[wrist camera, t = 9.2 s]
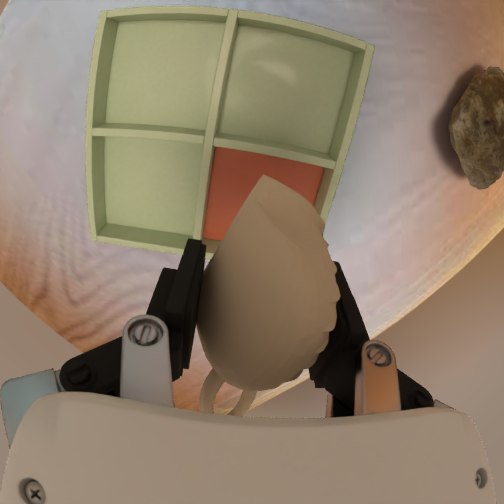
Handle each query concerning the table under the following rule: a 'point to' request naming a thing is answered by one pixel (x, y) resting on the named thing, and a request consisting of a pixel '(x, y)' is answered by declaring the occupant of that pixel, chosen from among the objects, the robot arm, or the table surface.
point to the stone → (480, 128)
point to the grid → (212, 119)
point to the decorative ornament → (266, 296)
